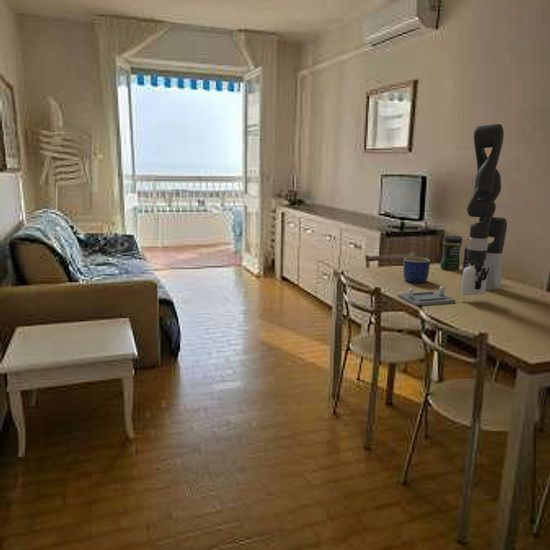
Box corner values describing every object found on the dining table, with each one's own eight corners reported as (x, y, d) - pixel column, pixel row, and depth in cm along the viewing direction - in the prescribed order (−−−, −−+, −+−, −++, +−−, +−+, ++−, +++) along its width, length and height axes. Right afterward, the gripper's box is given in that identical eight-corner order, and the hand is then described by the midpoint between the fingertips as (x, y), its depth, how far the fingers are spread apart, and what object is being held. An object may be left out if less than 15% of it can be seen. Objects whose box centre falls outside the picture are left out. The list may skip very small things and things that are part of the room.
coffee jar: (444, 270, 260) (447, 236, 256) (438, 267, 268) (441, 234, 263) (461, 270, 261) (464, 236, 256) (455, 267, 268) (458, 234, 264)
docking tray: (436, 293, 215) (436, 282, 214) (455, 302, 202) (456, 290, 201) (398, 296, 210) (398, 285, 209) (415, 306, 197) (416, 293, 196)
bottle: (459, 277, 246) (463, 238, 241) (464, 275, 251) (468, 237, 246) (473, 279, 241) (477, 240, 237) (478, 277, 246) (482, 238, 241)
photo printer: (481, 291, 208) (484, 264, 205) (486, 294, 204) (490, 266, 200) (459, 293, 206) (461, 265, 203) (464, 296, 202) (467, 267, 199)
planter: (433, 283, 233) (435, 261, 231) (410, 284, 231) (411, 262, 228) (419, 277, 245) (421, 256, 243) (397, 278, 242) (399, 257, 240)
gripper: (497, 250, 194) (492, 291, 198) (473, 244, 208) (470, 282, 212) (481, 252, 192) (477, 292, 196) (458, 245, 206) (455, 284, 210)
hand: (473, 287), depth 204 cm, fingers closed on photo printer, 4 cm apart
